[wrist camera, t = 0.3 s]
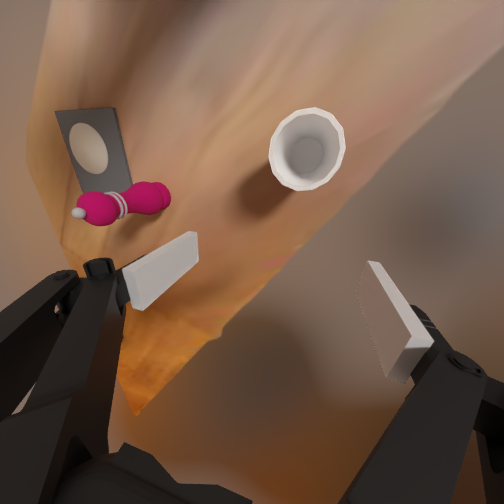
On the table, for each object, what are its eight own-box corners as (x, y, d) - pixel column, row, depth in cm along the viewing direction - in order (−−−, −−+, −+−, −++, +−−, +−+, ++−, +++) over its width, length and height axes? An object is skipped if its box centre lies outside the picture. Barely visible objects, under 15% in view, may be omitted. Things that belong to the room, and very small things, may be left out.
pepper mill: (170, 214, 49) (93, 243, 32) (146, 203, 50) (57, 225, 32) (175, 187, 46) (91, 202, 28) (148, 175, 46) (50, 182, 29)
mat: (57, 111, 46) (53, 111, 45) (114, 108, 42) (111, 107, 41) (86, 198, 54) (84, 198, 53) (136, 201, 50) (134, 202, 49)
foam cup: (324, 186, 37) (330, 196, 26) (277, 178, 39) (264, 185, 27) (340, 128, 33) (356, 111, 22) (287, 123, 35) (276, 103, 23)
